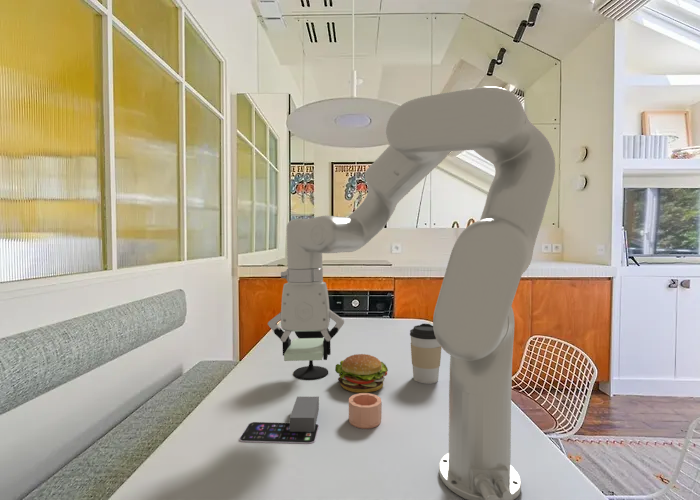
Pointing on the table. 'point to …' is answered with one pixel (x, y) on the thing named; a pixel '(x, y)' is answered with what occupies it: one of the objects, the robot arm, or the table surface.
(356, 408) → the ramekin
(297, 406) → the tall grey rectangular block
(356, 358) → the food
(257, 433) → the smartphone
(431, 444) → the table surface
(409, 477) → the table surface
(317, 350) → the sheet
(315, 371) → the wine glass
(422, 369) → the coffee cup
